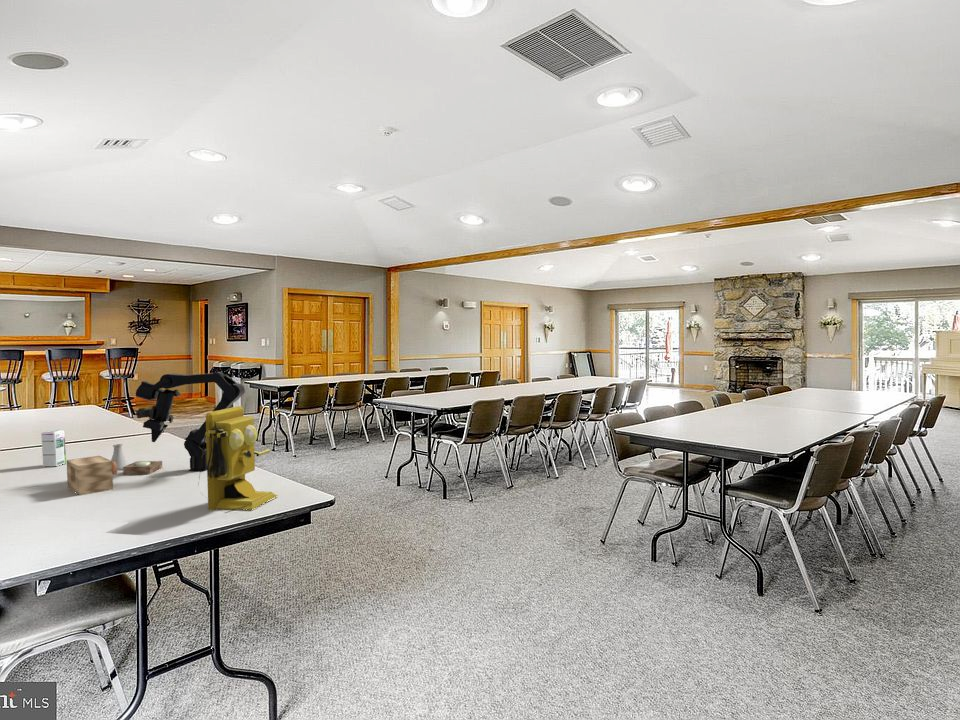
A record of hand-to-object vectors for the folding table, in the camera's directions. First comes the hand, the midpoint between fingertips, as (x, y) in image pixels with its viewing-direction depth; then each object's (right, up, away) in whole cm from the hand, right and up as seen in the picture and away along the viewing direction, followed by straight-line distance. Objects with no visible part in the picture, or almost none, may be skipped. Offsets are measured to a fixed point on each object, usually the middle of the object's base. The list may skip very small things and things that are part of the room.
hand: (153, 441), depth 230 cm
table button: (-4, -11, -1) cm, 12 cm away
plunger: (-5, -9, -24) cm, 26 cm away
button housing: (-4, -12, -1) cm, 12 cm away
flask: (-16, -12, +4) cm, 20 cm away
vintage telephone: (+55, -13, -46) cm, 73 cm away
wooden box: (-7, -13, -27) cm, 30 cm away
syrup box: (-48, -12, +11) cm, 50 cm away
